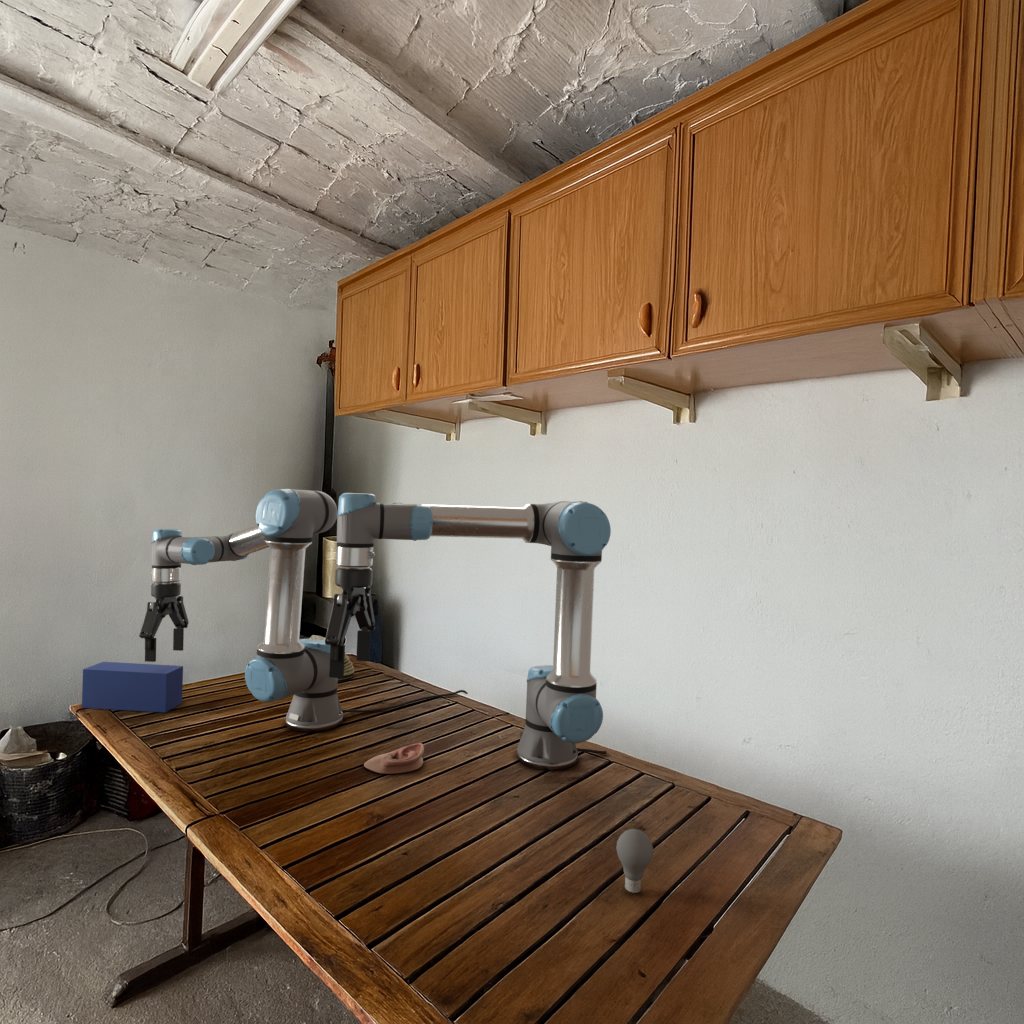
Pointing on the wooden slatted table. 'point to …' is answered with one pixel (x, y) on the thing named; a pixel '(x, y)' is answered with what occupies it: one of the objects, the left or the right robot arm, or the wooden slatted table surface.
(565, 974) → the wooden slatted table surface
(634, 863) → the light bulb
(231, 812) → the wooden slatted table surface
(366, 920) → the wooden slatted table surface
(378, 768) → the anatomical model
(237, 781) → the wooden slatted table surface
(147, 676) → the box
